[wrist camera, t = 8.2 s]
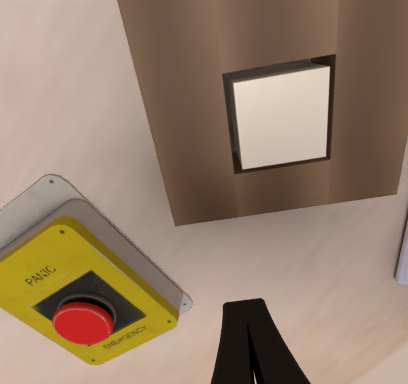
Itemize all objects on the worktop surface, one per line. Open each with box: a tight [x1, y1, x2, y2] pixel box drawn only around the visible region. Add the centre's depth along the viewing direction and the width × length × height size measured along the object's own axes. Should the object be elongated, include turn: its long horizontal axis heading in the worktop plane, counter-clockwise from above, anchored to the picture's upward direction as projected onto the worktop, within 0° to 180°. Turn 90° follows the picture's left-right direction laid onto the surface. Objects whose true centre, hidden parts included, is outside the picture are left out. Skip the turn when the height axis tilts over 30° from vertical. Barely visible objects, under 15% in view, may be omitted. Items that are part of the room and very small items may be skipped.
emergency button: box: [0, 174, 192, 365], centre depth 20 cm, size 9×4×15 cm
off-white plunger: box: [227, 61, 330, 169], centre depth 14 cm, size 4×4×3 cm
